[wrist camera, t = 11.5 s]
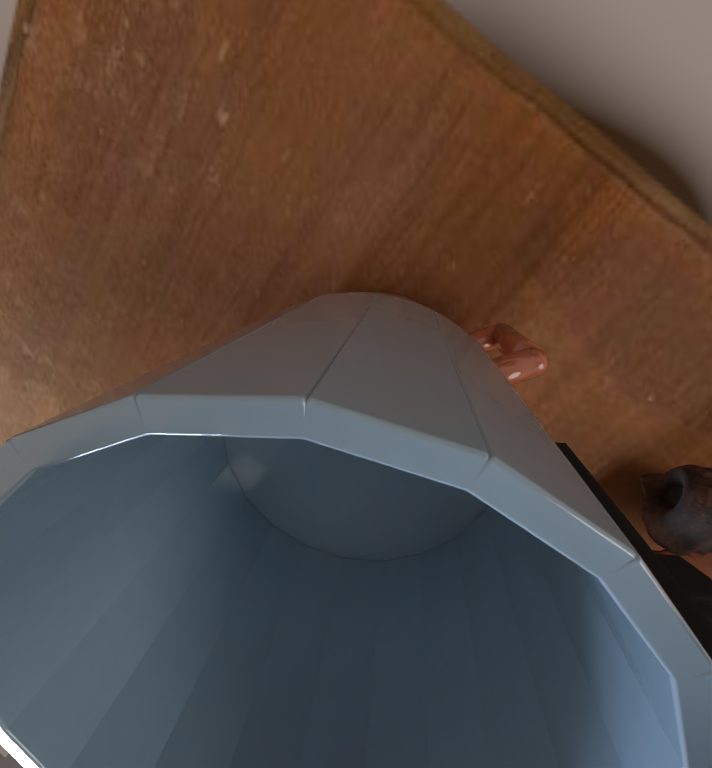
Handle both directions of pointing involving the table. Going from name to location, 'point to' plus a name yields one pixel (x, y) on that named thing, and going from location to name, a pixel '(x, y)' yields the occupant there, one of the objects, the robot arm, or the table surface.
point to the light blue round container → (329, 569)
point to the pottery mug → (681, 513)
